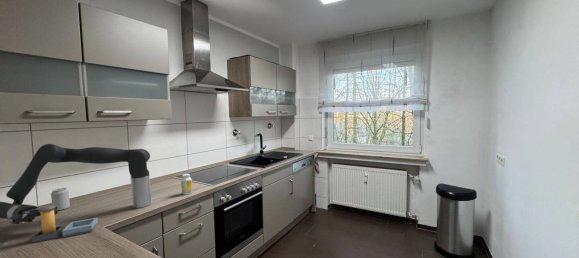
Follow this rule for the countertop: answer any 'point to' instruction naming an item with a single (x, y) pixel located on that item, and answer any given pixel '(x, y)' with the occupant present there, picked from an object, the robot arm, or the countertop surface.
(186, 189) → the supplement bottle
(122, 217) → the countertop surface
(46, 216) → the stop pin
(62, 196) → the can
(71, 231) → the parts tray
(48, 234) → the pin collar
